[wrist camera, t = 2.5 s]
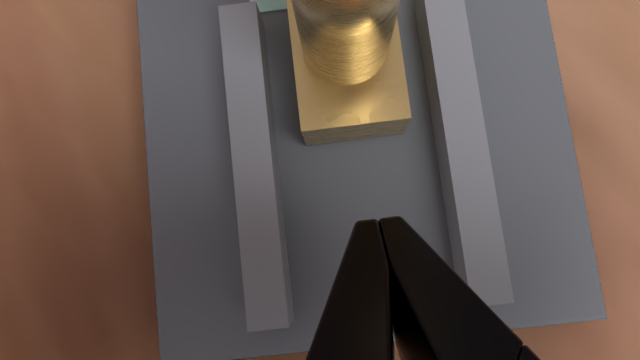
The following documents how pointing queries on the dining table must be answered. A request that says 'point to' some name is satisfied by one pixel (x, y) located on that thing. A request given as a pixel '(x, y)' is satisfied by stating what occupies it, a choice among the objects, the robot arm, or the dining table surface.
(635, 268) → the dining table surface
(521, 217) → the lock plate
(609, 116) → the dining table surface
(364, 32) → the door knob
